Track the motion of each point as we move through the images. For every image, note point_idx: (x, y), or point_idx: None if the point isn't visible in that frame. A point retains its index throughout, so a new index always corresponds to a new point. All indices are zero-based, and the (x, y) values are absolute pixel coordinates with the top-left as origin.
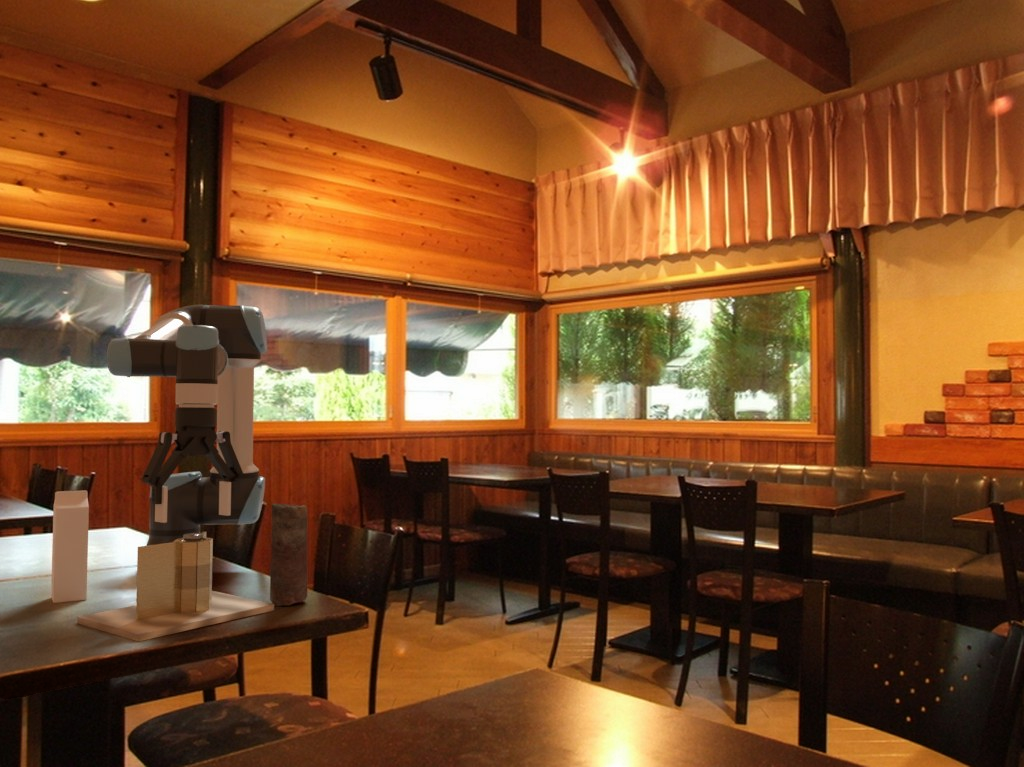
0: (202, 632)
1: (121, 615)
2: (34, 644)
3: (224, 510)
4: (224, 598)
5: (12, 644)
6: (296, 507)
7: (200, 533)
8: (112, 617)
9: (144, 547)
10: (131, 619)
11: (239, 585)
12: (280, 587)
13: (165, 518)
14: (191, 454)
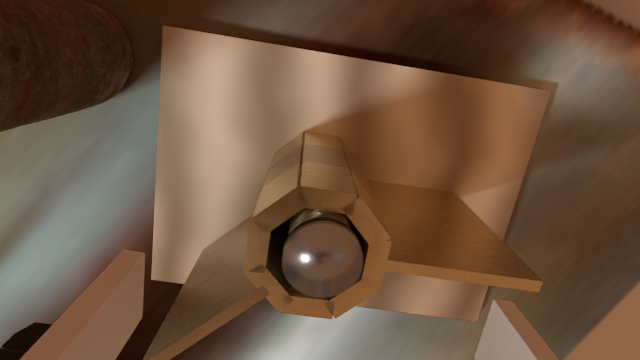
0: (424, 21)
1: None
2: (621, 250)
3: (132, 289)
4: (193, 191)
5: (632, 281)
6: None
7: (288, 258)
8: None
9: (522, 277)
10: None
11: (33, 305)
12: (105, 40)
13: (511, 311)
14: None
